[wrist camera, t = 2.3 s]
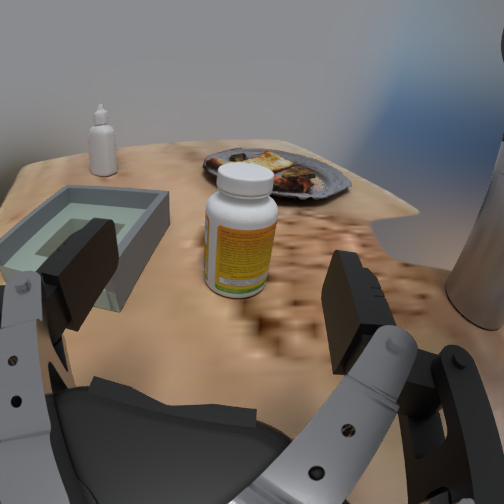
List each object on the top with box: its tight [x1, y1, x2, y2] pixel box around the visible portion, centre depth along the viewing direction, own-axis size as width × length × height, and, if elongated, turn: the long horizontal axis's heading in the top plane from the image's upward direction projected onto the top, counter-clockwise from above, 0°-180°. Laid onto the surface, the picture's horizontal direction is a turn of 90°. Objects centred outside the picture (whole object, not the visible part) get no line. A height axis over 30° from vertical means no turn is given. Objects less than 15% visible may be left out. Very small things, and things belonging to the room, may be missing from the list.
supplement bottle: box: [204, 163, 278, 298], centre depth 23 cm, size 5×5×10 cm
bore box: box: [0, 185, 170, 312], centre depth 25 cm, size 14×14×4 cm
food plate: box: [203, 148, 352, 201], centre depth 48 cm, size 25×23×4 cm
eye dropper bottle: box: [88, 104, 117, 176], centre depth 41 cm, size 4×6×12 cm
